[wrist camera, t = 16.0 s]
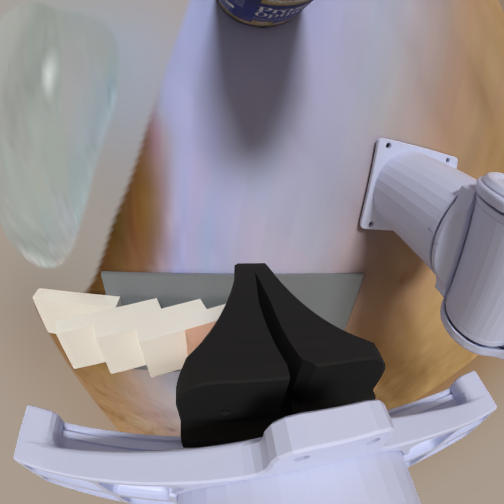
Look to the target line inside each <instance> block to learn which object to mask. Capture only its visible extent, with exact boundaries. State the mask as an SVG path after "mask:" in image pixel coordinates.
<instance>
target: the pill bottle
mask: <svg viewBox="0 0 504 504" xmlns="http://www.w3.org/2000/svg"><path fill="white" fill-rule="evenodd" d="M217 1H218V3H219V4H220V6H221V8H222V9H223V10H224V12H225V13H226V14H227V15H229V16H230V17H231V18H233V19H234V20H236V21H237V22H240V23H243V24H246V25H250V26H255V27H272V26H277V25H280V24H283V23H286V22H287V21H289V20H291V19H292V18H294V17H295V16H296V15H297V14H298V13H299V12H300V11H302V10H303V9H304V8H305V7H306V6H307V5H308V4H310V3H311V2H312V1H313V0H217Z"/></svg>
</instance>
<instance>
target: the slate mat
mask: <svg viewBox="0 0 504 504" xmlns="http://www.w3.org/2000/svg"><path fill="white" fill-rule="evenodd" d="M274 275H275V276H276V277H277V278H278V279H279V280H280V282H281V283H282V284H283V285H284V286H285V287H286V288H287V289H288V290H289V291H290V292H291V293H292V294H293V295H294V296H295V297H296V298H297V299H298V300H299V301H300V302H302V303H303V304H304V305H305V306H306V307H308V308H309V309H310V310H312V311H313V312H314V313H316V314H317V315H318V316H320V317H321V318H323V319H325V320H326V321H328V322H329V323H331V324H333V325H334V326H336V327H338V328H340V329H342V330H344V329H345V327H346V324H347V322H348V319H349V316H350V314H351V311H352V308H353V306H354V303H355V300H356V297H357V295H358V292H359V289H360V286H361V283H362V280H363V277H364V275H363V273H335V274H274ZM101 276H102V280H103V284H104V288H105V292H106V295H109V296H120V298H121V302H122V306H125V305H129V304H133V303H138V302H142V301H146V300H150V299H155V298H157V300H158V302H159V305H160V307H161V309H162V308H166V307H170V306H174V305H178V304H182V303H185V302H189V301H193V300H197V299H201V301H202V302H203V304H204V306H205V307H206V309H209V308H213V307H216V306H220V305H223V304H226V302H227V300H228V297H229V295H230V292H231V289H232V286H233V282H234V274H201V273H146V272H110V271H102V273H101ZM133 369H143V370H148V368H147V366H146V365H144V366H140V367H137V368H133ZM176 371H179V372H181V369H179V370H176Z"/></svg>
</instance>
